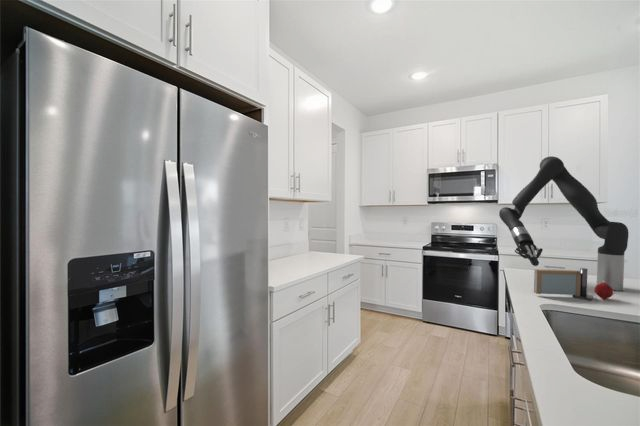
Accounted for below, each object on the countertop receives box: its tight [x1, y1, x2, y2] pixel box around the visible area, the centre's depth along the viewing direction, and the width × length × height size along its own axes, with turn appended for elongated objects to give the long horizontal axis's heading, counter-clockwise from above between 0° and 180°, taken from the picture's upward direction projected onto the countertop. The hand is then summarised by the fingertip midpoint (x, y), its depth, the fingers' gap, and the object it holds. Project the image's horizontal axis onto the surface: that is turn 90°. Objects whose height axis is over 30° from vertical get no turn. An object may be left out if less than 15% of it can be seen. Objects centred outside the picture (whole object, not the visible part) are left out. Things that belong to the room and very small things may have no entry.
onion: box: [593, 281, 614, 300], centre depth 123 cm, size 6×6×8 cm
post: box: [572, 267, 594, 302], centre depth 125 cm, size 6×6×13 cm
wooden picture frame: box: [533, 268, 581, 296], centre depth 126 cm, size 18×2×11 cm, turn 85°
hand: (536, 265), depth 136 cm, fingers closed
